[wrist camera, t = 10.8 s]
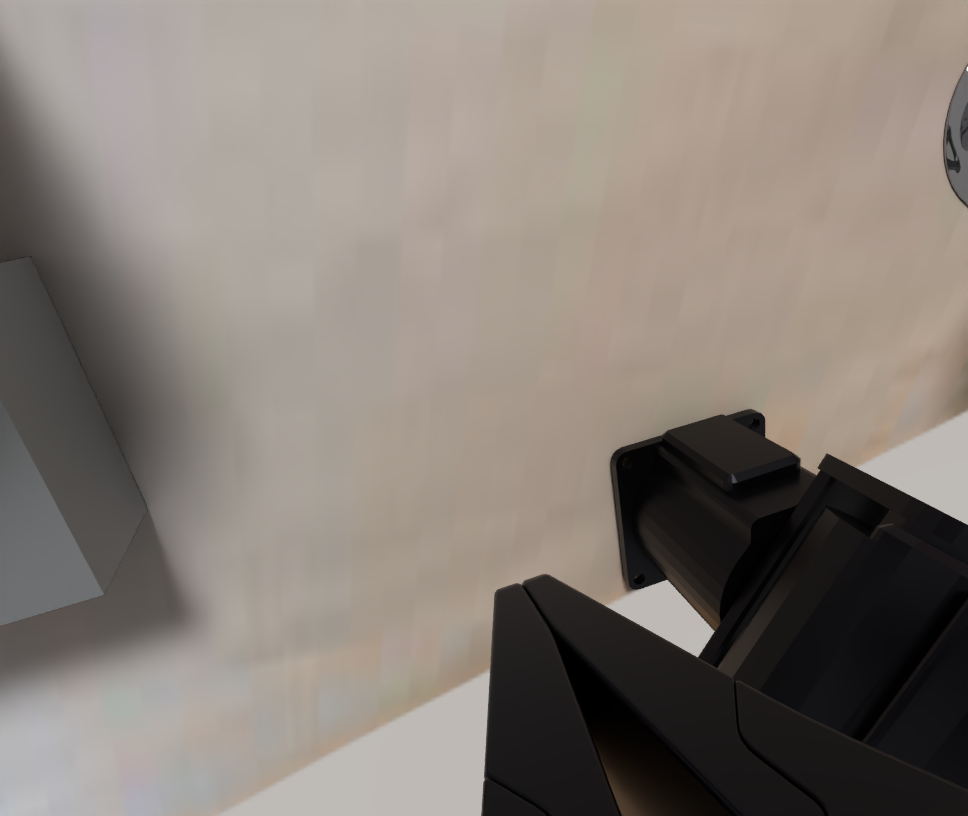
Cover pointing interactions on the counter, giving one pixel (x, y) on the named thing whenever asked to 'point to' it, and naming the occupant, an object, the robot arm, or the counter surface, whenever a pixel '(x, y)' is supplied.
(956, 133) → the wine glass
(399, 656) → the counter surface
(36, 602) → the sliding door box
